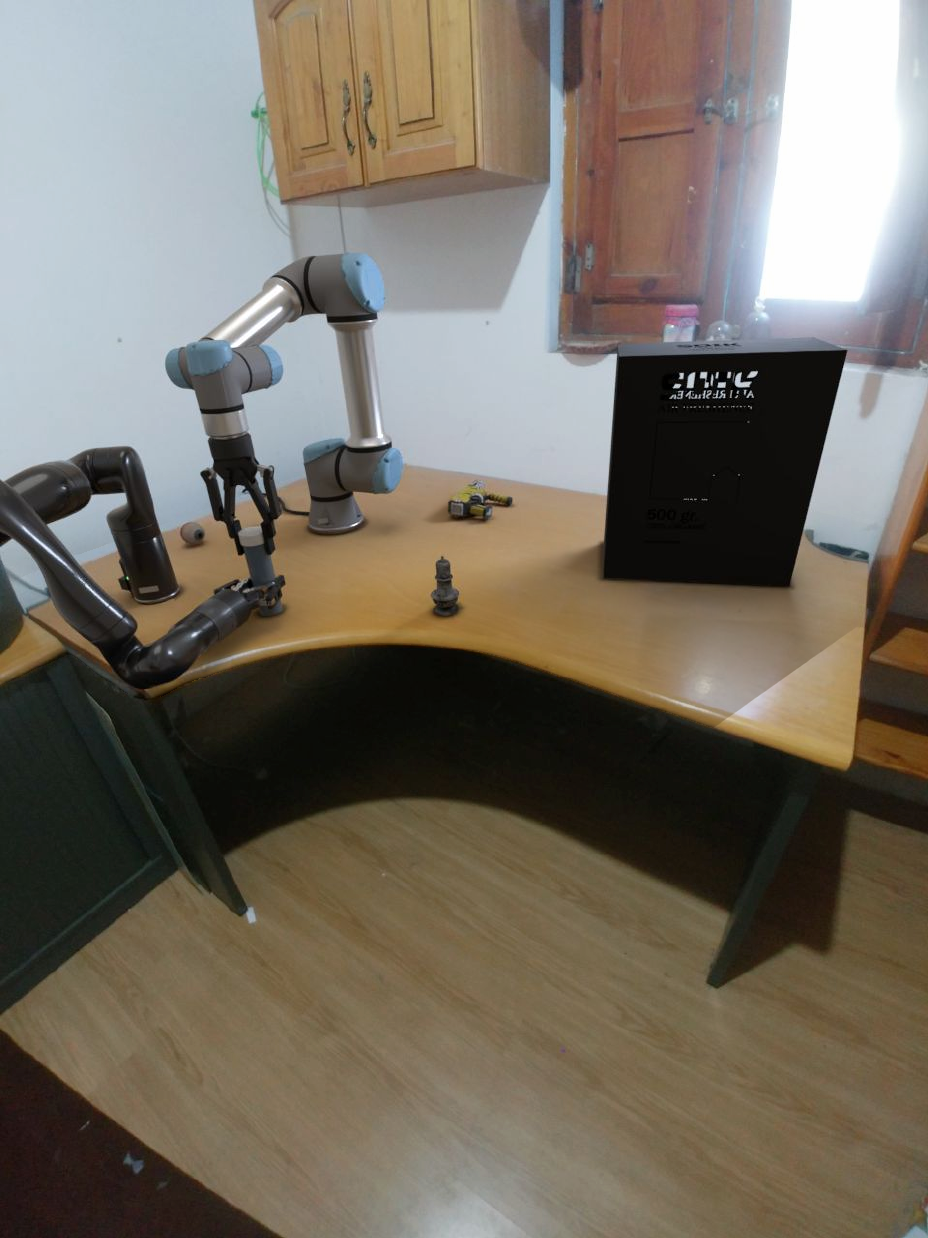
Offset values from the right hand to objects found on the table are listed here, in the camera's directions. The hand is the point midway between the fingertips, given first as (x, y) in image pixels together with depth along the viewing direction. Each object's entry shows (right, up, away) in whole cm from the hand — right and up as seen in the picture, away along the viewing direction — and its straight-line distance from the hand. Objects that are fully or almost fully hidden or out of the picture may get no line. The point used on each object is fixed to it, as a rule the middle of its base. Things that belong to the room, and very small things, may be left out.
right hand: (257, 552), depth 121 cm
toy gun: (+48, +19, +55) cm, 76 cm away
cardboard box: (+93, -1, +16) cm, 94 cm away
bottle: (+1, -12, +7) cm, 13 cm away
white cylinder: (0, +4, -2) cm, 4 cm away
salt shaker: (+38, -11, +3) cm, 40 cm away
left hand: (+1, -5, +6) cm, 7 cm away
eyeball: (-31, +7, +42) cm, 52 cm away
